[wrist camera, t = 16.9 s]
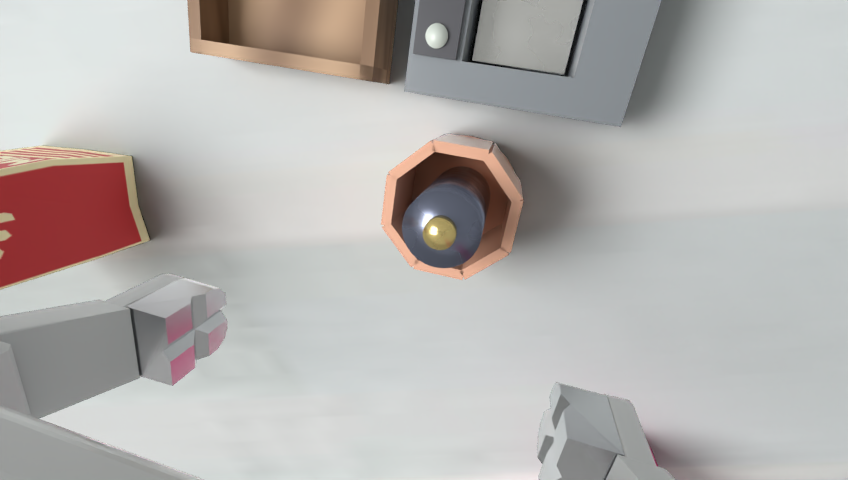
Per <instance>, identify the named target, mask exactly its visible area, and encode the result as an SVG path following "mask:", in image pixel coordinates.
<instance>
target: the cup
mask: <svg viewBox="0 0 848 480" xmlns="http://www.w3.org/2000/svg"><path fill="white" fill-rule="evenodd" d="M458 166H464V167H469V168H472V169H474V170H476V171H478V172H479V173H480V174H481V175H482V176H483V177H484V178H485V179H486V181H487V183H488V185H489V188H490V203H489V207H488V212H487V216H486V220H485V224H484V229H483V233H482V237H481V241H480V244H479V247H478V249H477V250H476V252H475V253H474V255H473V256H472V257H471V258H470V259H469V260H467V261H466V262H465V263H463V264H461V265H459V266H456V267H451V268H436V267H432V266H429V265H427V264H425V263H423V262H421V261H420V260H418V259H417V258H416V257H415V256H414V255H413V254H412V253H411V252H410V251H409V249H408V247H407V246H406V244H405V241H404V238H403V234H402V221H403V217H404V214H405V212H406V210H407V208H408V207H409V205H410V204H411V203H412V202H413V201H414V200H415V199H416V198H417V197H418V196H419V195H420V194H421V193H422V192H423V191H424V190H425V189H426V188H427V187H428V186H429V185H430V184H431V183H432V182H433V181H435V180H436V179H437V178H438V177H439V176H440V175H441V174H442V173H443V172H444V171H446V170H448V169H450V168H453V167H458ZM388 173H389V174H387V178H386V186H385V195H384V203H383V212H382V220H381V225H384V226H383V227H382V228H383V230H384V231H385V232H386V234H387V235H388V236H389V238H390V239H391V240H392V242H393V243H394V245H395V246H396V247H397V249H398V250H399V251H400V253H401V254H402V255H403V257H404V258H405V259H406V261H407V262H408V264H409V265H410V266H411V267H412V266H414V269H417V270H421V271H425V272H430V273H434V274H438V275H443V276H447V277H451V278H456V279H460V280H462V279H463V277H464V279H467V278H469V277H470V276H472V275H474V274H476V273H478V272H479V271H481V270H483V269H485V268H486V267H488V266H490V265H492V264H494V263H495V262H497V261H499V260H501V259H502V258H504V257H506V256H508V255H509V252H510V253H511V249H512V245H513V241H514V237H515V233H516V229H517V225H518V221H519V217H520V213H521V209H522V205H523V195H522V187H521V181H520V180H519V178H518V177H517V175H516V174H515V172H514V170H513V167H512V165H511V164H510V162H509V160H508V159H507V157H506V156H505V155H504V154H503V153H502V152H501V151H500V149H499V148H498V146H497V145H496V143H495V144H493V141H488V140H483V139H481V138H478V137H474V136H467V135H454V134H444V135H442V136H440V137H438V138H436V139H433V140H431V141H430V142H428V143H427V144H426V145H424V146H423V147H422V148H420V149H419V150H418V151H416V152H415V153H414V154H412V155H411V156H409V157H408V158H407V159H405V160H404V161H403V162H401V163H400V164H399V165H397V166H396V167H395V168H393V169H392V170H391V171H389V172H388Z"/></svg>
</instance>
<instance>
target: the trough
mask: <svg viewBox="0 0 848 480" xmlns="http://www.w3.org/2000/svg"><path fill="white" fill-rule="evenodd" d="M187 1H188V18H189V34H190V51H191V52H193V53H199V54H206V55H212V56H218V57H224V58H230V59H236V60H243V61H249V62H255V63H261V64H267V65H273V66H280V67H286V68H292V69H298V70H304V71H311V72H317V73H323V74H329V75H335V76H341V77H348V78H354V79H360V80H366V81H372V82H379V83H385V84H389V80H390V71H391V62H392V53H393V44H394V35H395V26H396V17H397V8H398V0H187Z"/></svg>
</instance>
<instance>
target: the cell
mask: <svg viewBox="0 0 848 480" xmlns="http://www.w3.org/2000/svg"><path fill="white" fill-rule="evenodd" d="M489 203H490V188H489V185H488V183H487V181H486V179H485V178H484V177H483V176H482V175H481V174H480V173H479V172H478V171H476V170H474V169H472V168H469V167H464V166H458V167H453V168H450V169H448V170H446V171H444V172H443V173H442V174H441V175H440V176H439V177H438V178H437V179H436V180H435V181H433V182H432V183H431V184H430V185H429V186H428V187H427V188H426V189H425V190H424V191H423V192H422V193H421V194H420V195H419V196H418V197H417V198H416V199H415V200H414V201H413V202H412V203H411V204H410V205H409V207H408V208H407V210H406V212H405V214H404V217H403V221H402V234H403V238H404V241H405V244H406V246H407V247H408V249H409V251H410V252H411V253H412V254H413V255H414V256H415V257H416V258H417V259H418V260H420V261H421V262H423V263H425V264H427V265H429V266H432V267H436V268H451V267H456V266H459V265H461V264H463V263H465V262H466V261H467V260H469V259H470V258H471V257H472V256H473V255H474V253H475V252H476V250H477V249H478V247H479V244H480V241H481V237H482V233H483V229H484V224H485V220H486V216H487V212H488V207H489Z"/></svg>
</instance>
